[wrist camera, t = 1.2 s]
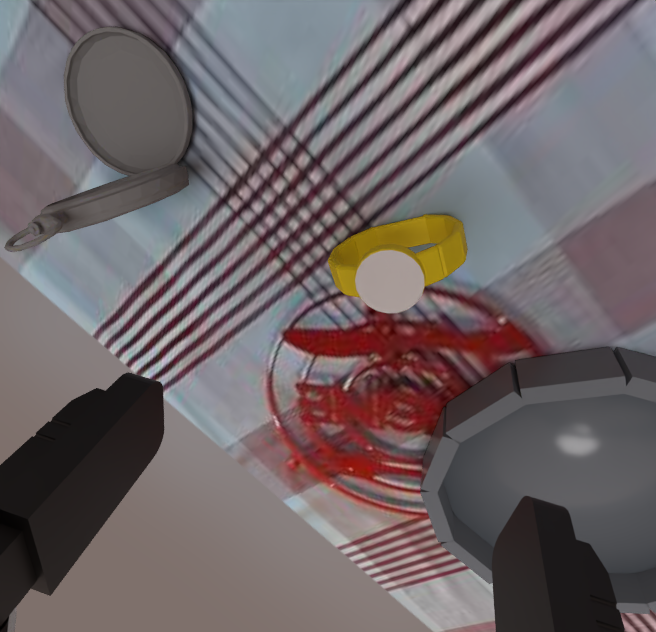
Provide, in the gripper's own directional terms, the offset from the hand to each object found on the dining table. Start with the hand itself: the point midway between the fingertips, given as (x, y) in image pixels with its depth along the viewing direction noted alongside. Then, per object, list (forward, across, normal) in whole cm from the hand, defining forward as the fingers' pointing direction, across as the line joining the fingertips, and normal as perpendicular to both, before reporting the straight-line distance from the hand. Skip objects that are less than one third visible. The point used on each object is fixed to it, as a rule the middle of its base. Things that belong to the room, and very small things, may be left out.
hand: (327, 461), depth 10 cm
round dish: (+15, -14, +12) cm, 24 cm away
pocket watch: (+16, +14, -2) cm, 21 cm away
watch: (+15, 0, 0) cm, 16 cm away
